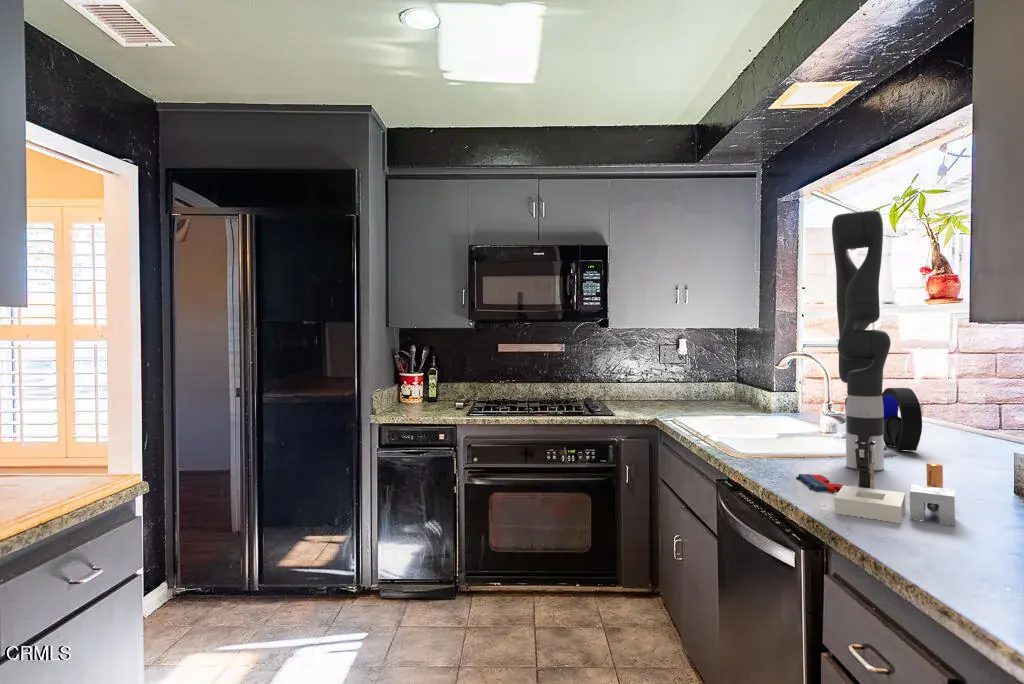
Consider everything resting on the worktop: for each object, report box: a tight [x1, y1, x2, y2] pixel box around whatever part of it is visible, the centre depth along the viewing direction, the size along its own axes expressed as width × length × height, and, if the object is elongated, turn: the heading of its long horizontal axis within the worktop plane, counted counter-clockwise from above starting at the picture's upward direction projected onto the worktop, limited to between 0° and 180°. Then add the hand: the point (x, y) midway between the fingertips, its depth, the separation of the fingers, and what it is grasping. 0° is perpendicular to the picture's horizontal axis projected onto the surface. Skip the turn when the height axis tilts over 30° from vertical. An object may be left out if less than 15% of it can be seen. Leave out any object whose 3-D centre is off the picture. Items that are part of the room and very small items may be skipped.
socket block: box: [834, 484, 906, 524], centre depth 126 cm, size 12×12×4 cm
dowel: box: [857, 456, 875, 489], centre depth 136 cm, size 3×3×10 cm
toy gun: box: [795, 473, 849, 494], centre depth 147 cm, size 15×2×10 cm
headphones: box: [882, 387, 923, 452], centre depth 186 cm, size 18×7×20 cm, turn 167°
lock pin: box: [926, 462, 944, 512], centre depth 127 cm, size 3×16×8 cm, turn 142°
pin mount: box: [909, 484, 956, 527], centre depth 120 cm, size 7×6×6 cm
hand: (866, 486), depth 136 cm, fingers closed on dowel, 3 cm apart
